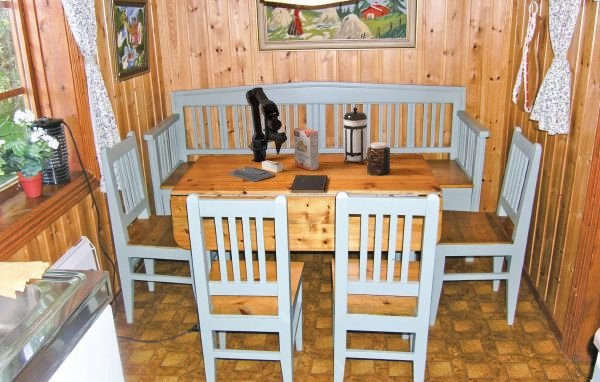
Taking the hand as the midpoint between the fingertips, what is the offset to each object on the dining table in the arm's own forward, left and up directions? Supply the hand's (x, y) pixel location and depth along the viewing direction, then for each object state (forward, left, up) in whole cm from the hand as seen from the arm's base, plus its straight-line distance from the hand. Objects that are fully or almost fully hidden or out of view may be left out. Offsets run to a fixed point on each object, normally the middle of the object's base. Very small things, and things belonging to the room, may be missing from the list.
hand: (271, 156), depth 297 cm
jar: (+47, +31, -8) cm, 57 cm away
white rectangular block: (0, 0, -8) cm, 8 cm away
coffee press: (+25, +39, -8) cm, 47 cm away
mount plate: (0, -14, -7) cm, 16 cm away
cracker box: (+12, +14, -8) cm, 20 cm away
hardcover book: (+35, -7, -8) cm, 37 cm away
